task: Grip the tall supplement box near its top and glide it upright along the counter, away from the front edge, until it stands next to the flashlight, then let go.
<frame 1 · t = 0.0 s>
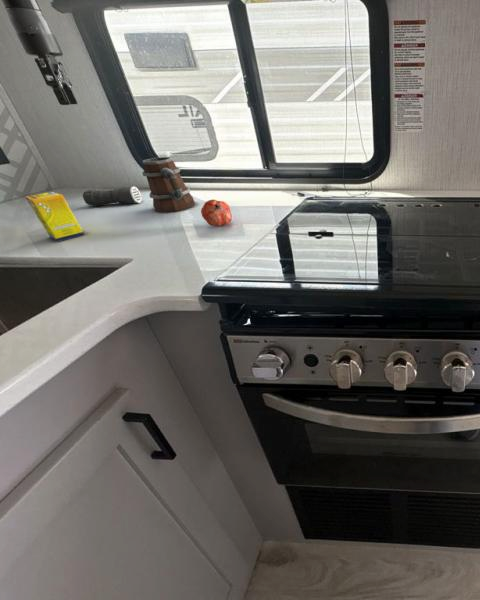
hand: (69, 104, 95), 30 cm above the countertop, tool pointing down, fingers open, 8 cm apart
mug: (178, 208, 109), on the countertop
flashlight: (117, 204, 115), on the countertop
pomegranate: (220, 225, 94), on the countertop
supplement box: (68, 236, 89), on the countertop
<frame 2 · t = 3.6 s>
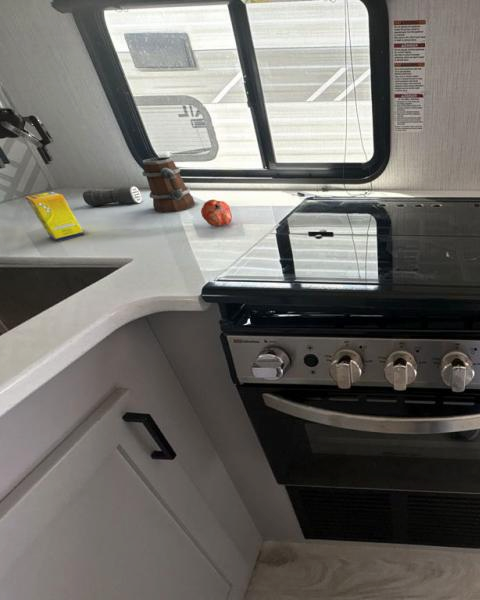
hand: (26, 165, 79), 18 cm above the countertop, tool pointing down, fingers open, 8 cm apart
nothing on the countertop moved.
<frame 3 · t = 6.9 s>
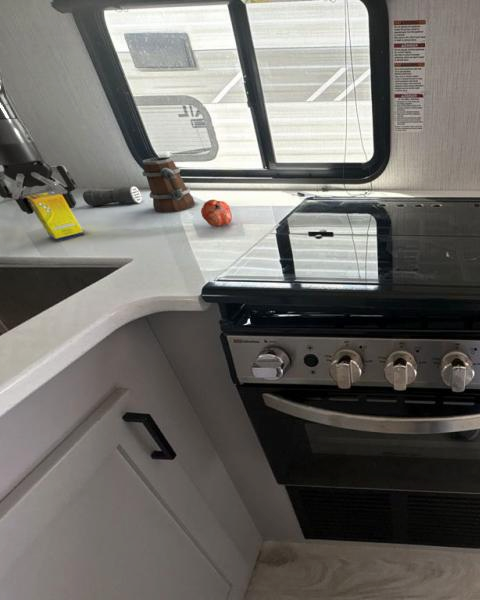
hand: (52, 210, 85), 7 cm above the countertop, tool pointing down
supplement box: (68, 236, 89), on the countertop, touching gripper
everything else where it was.
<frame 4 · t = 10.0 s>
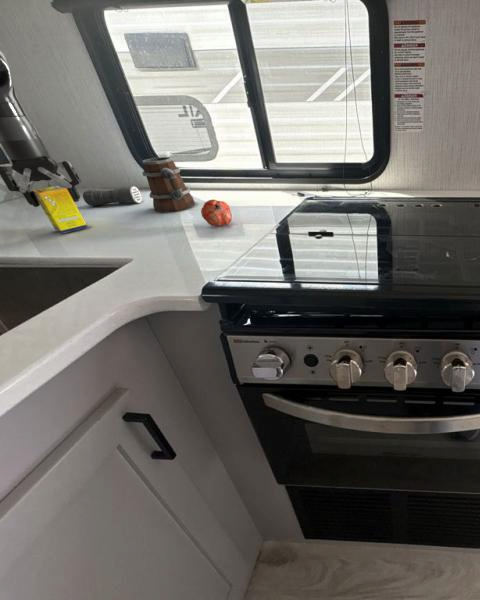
hand: (57, 203, 89), 7 cm above the countertop, tool pointing down
supplement box: (72, 229, 93), on the countertop, touching gripper
everything else where it was.
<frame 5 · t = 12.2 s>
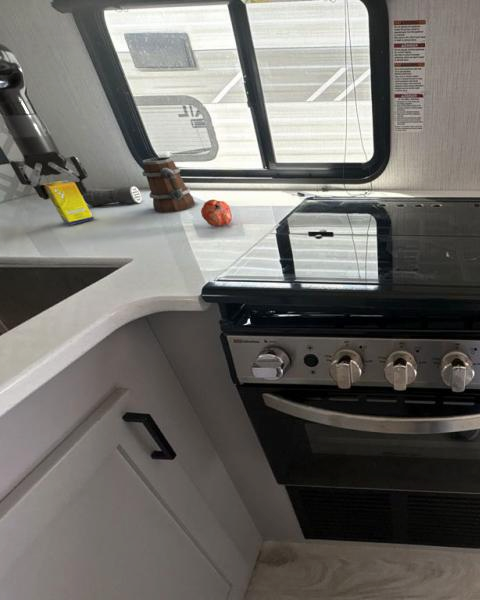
hand: (65, 196, 95), 7 cm above the countertop, tool pointing down
supplement box: (79, 221, 99), on the countertop, touching gripper
everything else where it was.
when the fingers open (7 cm above the countertop, at t = 13.4 s): supplement box stays where it is, on the countertop.
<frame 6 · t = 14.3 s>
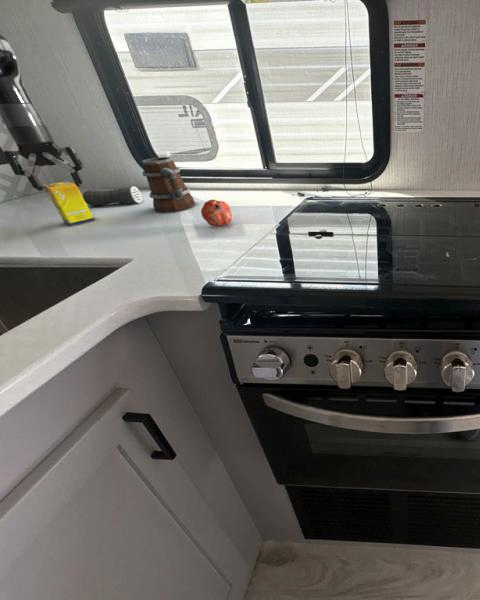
hand: (60, 188, 94), 10 cm above the countertop, tool pointing down, fingers open, 8 cm apart
supplement box: (80, 222, 100), on the countertop, touching gripper
everything else where it was.
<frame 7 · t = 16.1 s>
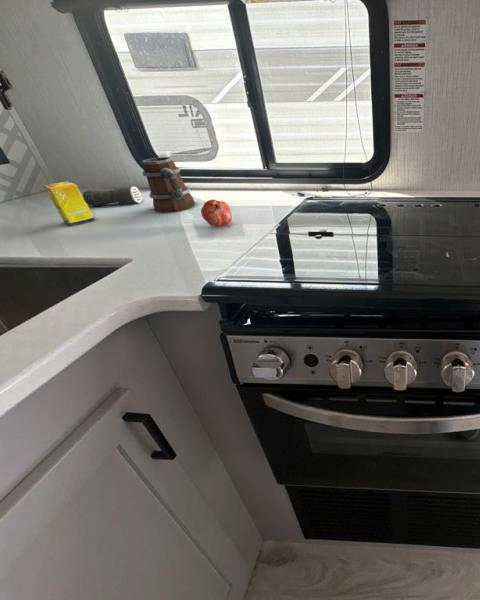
supplement box: (80, 222, 100), on the countertop
everything else where it was.
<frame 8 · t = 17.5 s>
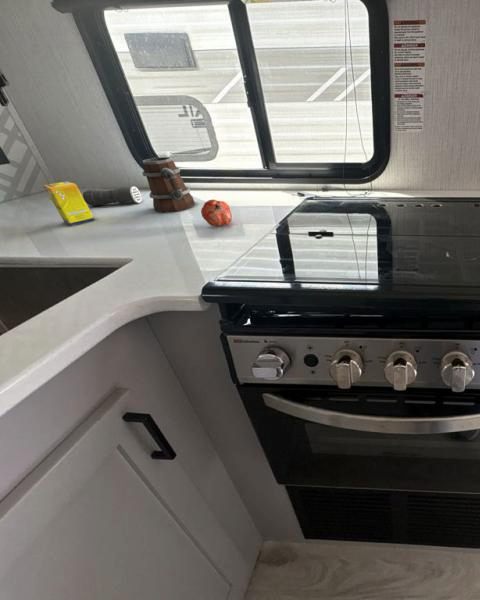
nothing on the countertop moved.
at the end: supplement box inside the target area (0.2 cm from its centre), on the countertop; supplement box tilted 0°; supplement box 18.3 cm from the flashlight (horizontally) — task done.
